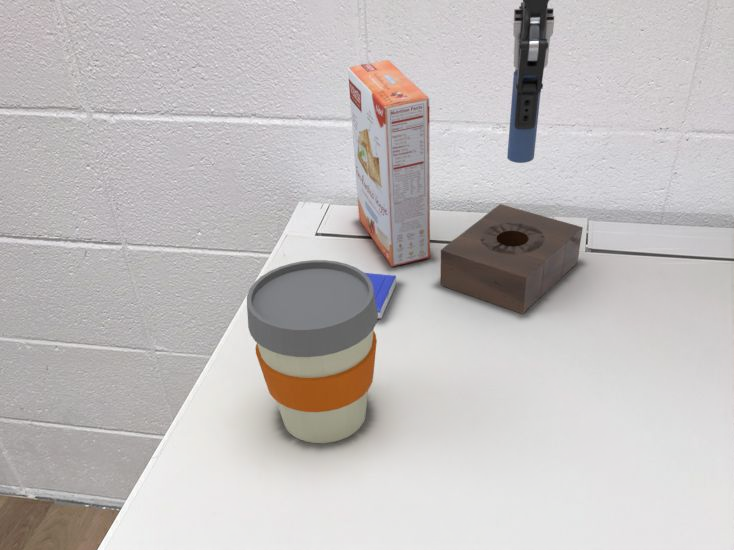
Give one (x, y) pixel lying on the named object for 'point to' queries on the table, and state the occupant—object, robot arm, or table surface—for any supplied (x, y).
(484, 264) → the walnut block
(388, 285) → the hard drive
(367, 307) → the reusable coffee cup
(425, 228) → the cracker box
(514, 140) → the peg
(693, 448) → the table surface
